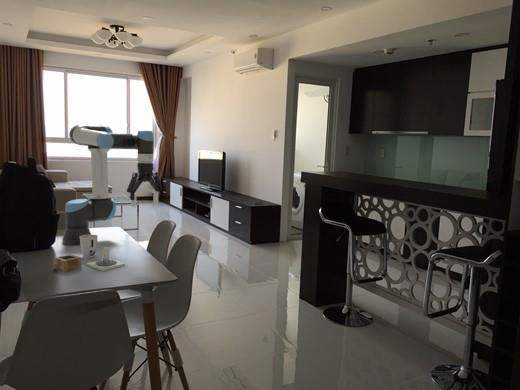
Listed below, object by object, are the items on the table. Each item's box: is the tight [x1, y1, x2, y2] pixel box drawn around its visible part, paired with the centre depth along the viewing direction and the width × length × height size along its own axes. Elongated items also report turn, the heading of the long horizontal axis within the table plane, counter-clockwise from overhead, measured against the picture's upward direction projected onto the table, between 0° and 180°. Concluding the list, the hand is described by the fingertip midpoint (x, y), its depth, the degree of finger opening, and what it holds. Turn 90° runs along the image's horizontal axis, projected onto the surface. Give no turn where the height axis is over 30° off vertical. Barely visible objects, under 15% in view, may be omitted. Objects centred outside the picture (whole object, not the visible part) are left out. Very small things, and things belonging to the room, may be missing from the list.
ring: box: [53, 253, 82, 273], centre depth 190 cm, size 8×8×5 cm
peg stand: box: [86, 246, 126, 272], centre depth 196 cm, size 12×12×8 cm
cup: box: [79, 234, 98, 258], centre depth 209 cm, size 8×8×10 cm
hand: (145, 205), depth 211 cm, fingers open, 13 cm apart
